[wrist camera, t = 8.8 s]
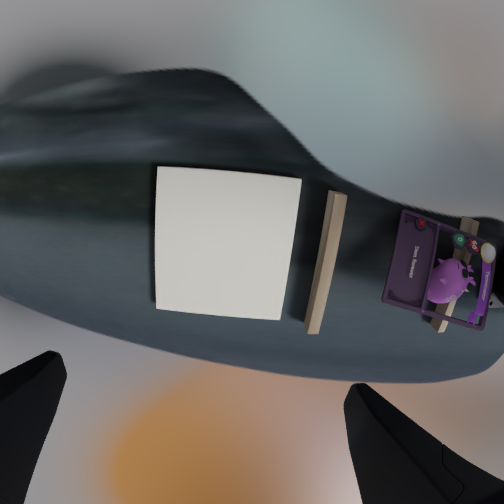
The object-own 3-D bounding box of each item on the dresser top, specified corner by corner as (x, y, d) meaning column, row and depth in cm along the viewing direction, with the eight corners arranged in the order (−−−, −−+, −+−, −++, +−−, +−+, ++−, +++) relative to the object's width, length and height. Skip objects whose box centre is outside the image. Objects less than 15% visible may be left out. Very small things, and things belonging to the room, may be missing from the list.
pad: (300, 178, 19) (301, 179, 18) (279, 315, 22) (279, 320, 21) (160, 166, 18) (157, 166, 17) (158, 304, 21) (156, 308, 21)
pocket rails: (468, 217, 20) (479, 222, 18) (436, 323, 23) (444, 332, 22) (328, 190, 19) (335, 193, 17) (303, 322, 22) (307, 333, 21)
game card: (405, 204, 18) (502, 243, 16) (386, 226, 23) (470, 256, 21) (384, 300, 17) (488, 331, 15) (367, 303, 22) (456, 329, 20)
